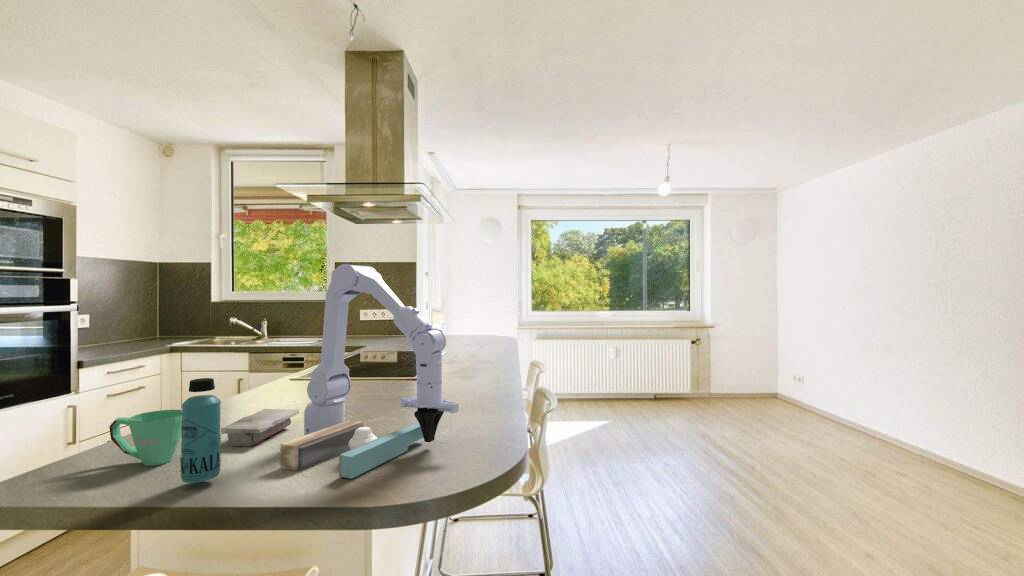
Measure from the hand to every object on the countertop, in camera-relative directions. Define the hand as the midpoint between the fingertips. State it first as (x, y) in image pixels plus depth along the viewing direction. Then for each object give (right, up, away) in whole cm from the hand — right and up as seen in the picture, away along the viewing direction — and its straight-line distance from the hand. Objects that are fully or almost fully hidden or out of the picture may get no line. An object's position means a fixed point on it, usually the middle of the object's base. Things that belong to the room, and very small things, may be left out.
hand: (429, 440), depth 111 cm
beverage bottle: (-40, -2, -20) cm, 44 cm away
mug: (-59, -2, -8) cm, 60 cm away
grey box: (-49, 0, +11) cm, 50 cm away
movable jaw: (-8, -2, -6) cm, 10 cm away
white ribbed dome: (-13, -2, -6) cm, 15 cm away
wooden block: (-23, -2, -3) cm, 23 cm away
